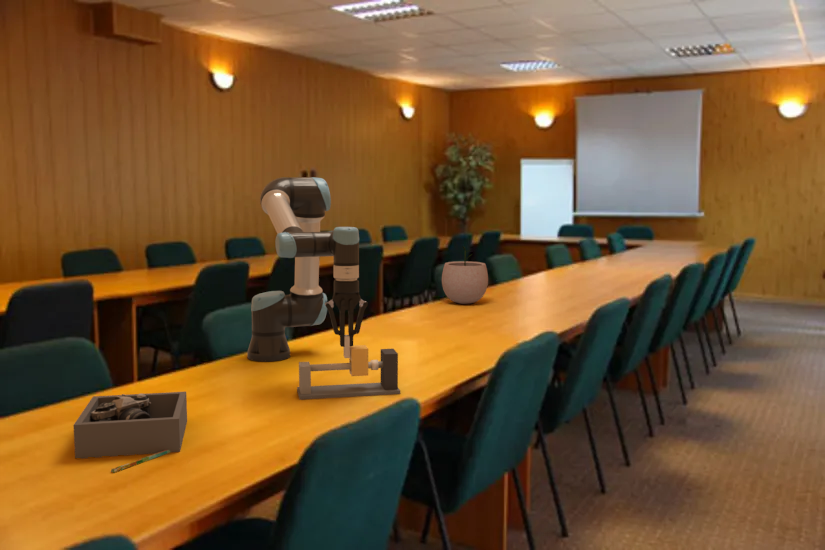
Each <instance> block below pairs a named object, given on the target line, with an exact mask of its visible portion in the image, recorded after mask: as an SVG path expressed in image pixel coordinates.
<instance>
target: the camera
mask: <svg viewBox="0 0 825 550" xmlns="http://www.w3.org/2000/svg"><path fill="white" fill-rule="evenodd" d="M137 394H138V395H137V397H136V398H135V399H132V398H131V397H127V395H128V394H124V393H123V394H120V395H121V396H116V397H115V399H114V400H113V401H112V403H106V402H105V403H102V404H100V405H99V406H98V407H97V408H96V410H95V411H93V412H91V422H100V421H117V420H134V419H150V418H152V417H151V416H150V406H149V405H150V404H151V402H149V398H148V397H147V396H146V395H145V394H146V393H137Z"/></svg>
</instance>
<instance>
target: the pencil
mask: <svg viewBox="0 0 825 550" xmlns="http://www.w3.org/2000/svg"><path fill="white" fill-rule="evenodd" d="M171 453H172V452H171V451H170V450H164V451H161V452H158V453H153V454H149V455H148V456H144V457H142V458H138V459H135V460H133V461H131V462H128V463H125V464H123V465H119V466H116V467H114V468H111V470H110V473H111V472H113V473H112V474H115V472H116V473H117V471H118V472H121V471H124V470H126V469H129V468H132V467H134V465H135V466H137V465H139V464H142V463H145V461H146V462H147V461H148V462H149V461H151V460H153V459H156V458H159V457H162V456H164V455H168V454H171ZM136 464H137V465H136ZM131 466H132V467H131ZM128 467H129V468H128ZM123 469H124V470H123ZM120 470H121V471H120Z"/></svg>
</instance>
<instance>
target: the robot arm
mask: <svg viewBox="0 0 825 550" xmlns="http://www.w3.org/2000/svg"><path fill="white" fill-rule="evenodd" d="M331 197H332V196H331V193H330V188H329V185H328V182H327V181H326V180H325V179H324V178H322V177H314V176H310V177H309V176H306V177H305V176H303V177H302V176H298V177H297V176H296V177H293V176H292V177H289V176H288V177H286V176H285V177H284V176H282V177H277V178H275V179H273V180H271V181H269V182H268V183H267V184H266V185H265V186H264V188H263V189H262V191H261V193H260V196H259V200H260V201H259V202H260V207H261V209H262V211H263V212H264V214H266V215H268V217H269V219H270V221H271V223H272V225H273V228H274V229H275V232H276V233H277V234H276V237H275V242H274V243H275V250H276V255H277V256H278V257H279V258H288V259H293V258H294V285H293V286H291V288H290V289H289V294H285V292H284V291H282V290H271V291H270V290H269V291H266V292H262V293H257V294H255V295H254V296H253V297H252V298H251V306H250V307H251V308H250V311H251V339H250V343H249V345H248V349H247V356H246V357H247V359H248V360H250V361H255V362H277V361H282V360H287V359H289V358H290V357H291V349H290V346H289V343H288V339H287V337H286V334H285V333H286V328H294V327H295V328H296V327H312V326H317V325H321V324H322V323H324V321H325V319H326V316H327V313H328V315H329V318H330V322H331V325H332V326H331V327H332V330H333V333H334V334H335V335H338V336H339V345H340V347H343V357H344V359H349V358H350V346H354V336H355V335H358V334H360V331H361V328H362V327H361V326H362V322H363V318H364V313H365V310H366V309H367V307H368V305H369V303H368V302H367V301H366V300H363V299H362V298H361V295H360V281H359V278H360V234H359V233H360V231H359V229H358V228H357V227H356V226H355V227H354V226H336V227H334V229H333V230H330V231H329V230H328V231H321V221H322V220H323V219H324V218H325V217H326V212H328V211H330V209H331V205H332V198H331ZM320 257H333V278H334V280H333V294H332V297H331V299H330V300H328V297H327V294H326V293H324V292H323V288H322V287H321V286H320V285H319V282H320V278H319V277H320V276H319V275H320ZM335 306H336V307H337V308H338V310H339V326H338V324H337V323H338V322H337V320H336V316H335V312H334V310H333V308H334V307H335ZM357 306H359V308H358V314H357V317H356V321H355V324H354V309H356V307H357ZM346 311H347V317H348V318H347V326H348V327H347V328H348V330H347V333H348V334H346V331H345V330H346V325H345V324H346V320H345V319H346V315H345V314H346ZM338 327H339V328H338Z"/></svg>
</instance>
